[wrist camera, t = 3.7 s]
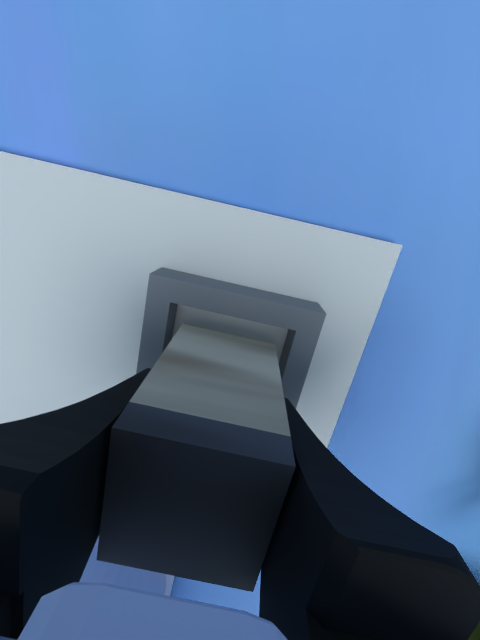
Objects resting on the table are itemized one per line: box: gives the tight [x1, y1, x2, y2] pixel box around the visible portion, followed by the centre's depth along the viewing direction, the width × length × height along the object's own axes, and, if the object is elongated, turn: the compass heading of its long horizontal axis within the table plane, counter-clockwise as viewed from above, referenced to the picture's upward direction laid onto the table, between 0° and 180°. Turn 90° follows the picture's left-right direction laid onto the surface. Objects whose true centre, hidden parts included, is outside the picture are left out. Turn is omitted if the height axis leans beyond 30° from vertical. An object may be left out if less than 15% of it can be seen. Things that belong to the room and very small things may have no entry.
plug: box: [96, 324, 296, 592], centre depth 11 cm, size 4×4×7 cm
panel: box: [0, 151, 403, 448], centre depth 15 cm, size 14×29×3 cm, turn 78°
